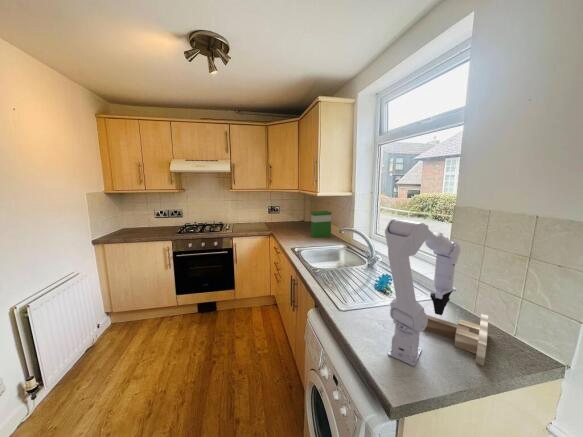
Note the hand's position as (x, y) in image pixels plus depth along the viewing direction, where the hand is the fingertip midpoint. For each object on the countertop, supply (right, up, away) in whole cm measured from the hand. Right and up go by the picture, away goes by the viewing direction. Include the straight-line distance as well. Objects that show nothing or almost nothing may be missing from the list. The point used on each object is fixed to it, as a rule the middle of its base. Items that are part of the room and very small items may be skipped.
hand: (440, 309), depth 89 cm
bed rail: (+1, -9, 0) cm, 9 cm away
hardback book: (-25, +15, +149) cm, 152 cm away
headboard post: (+7, -10, -5) cm, 13 cm away
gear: (-7, -3, +36) cm, 37 cm away
